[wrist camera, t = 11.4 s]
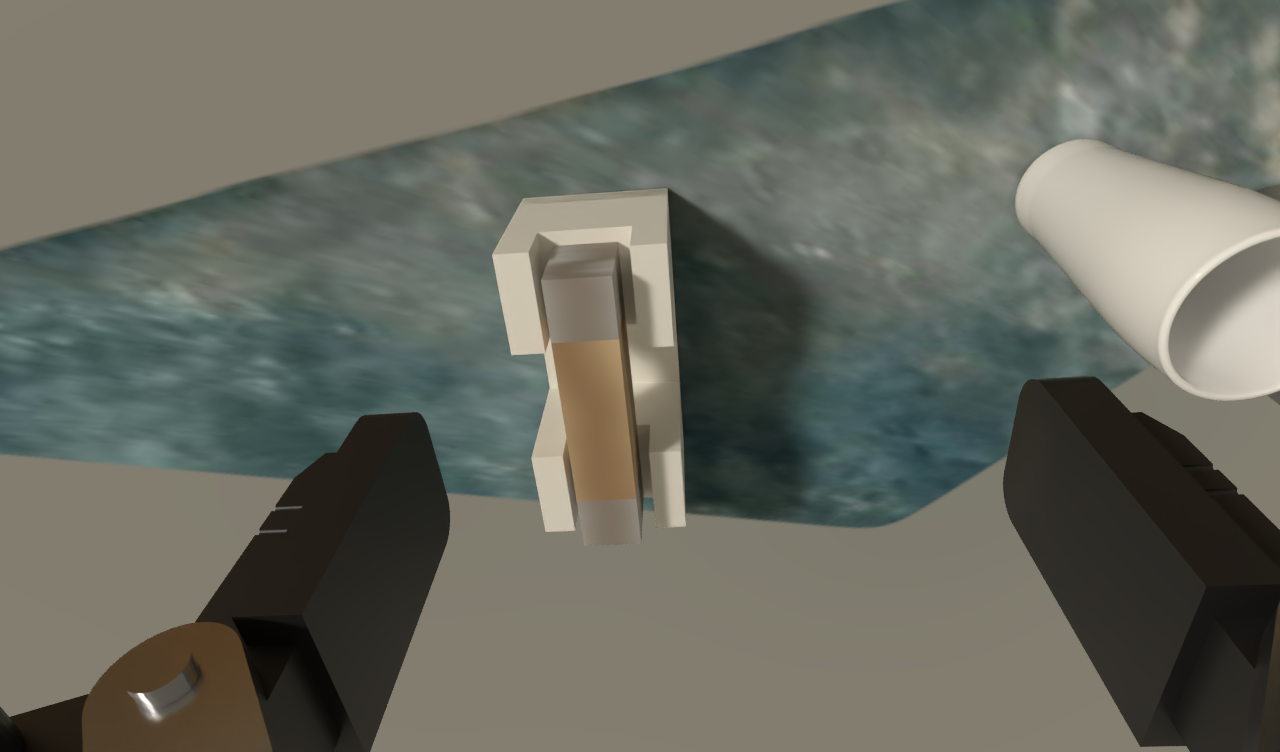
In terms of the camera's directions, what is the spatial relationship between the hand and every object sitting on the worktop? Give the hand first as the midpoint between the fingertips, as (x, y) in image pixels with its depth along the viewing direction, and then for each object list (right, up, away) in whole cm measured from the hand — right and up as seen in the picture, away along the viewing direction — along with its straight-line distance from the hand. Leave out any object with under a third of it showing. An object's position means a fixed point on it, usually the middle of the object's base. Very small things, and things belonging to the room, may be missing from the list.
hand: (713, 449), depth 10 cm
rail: (-3, +1, +28) cm, 28 cm away
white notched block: (-3, +4, +33) cm, 33 cm away
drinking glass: (+21, +11, +28) cm, 36 cm away
